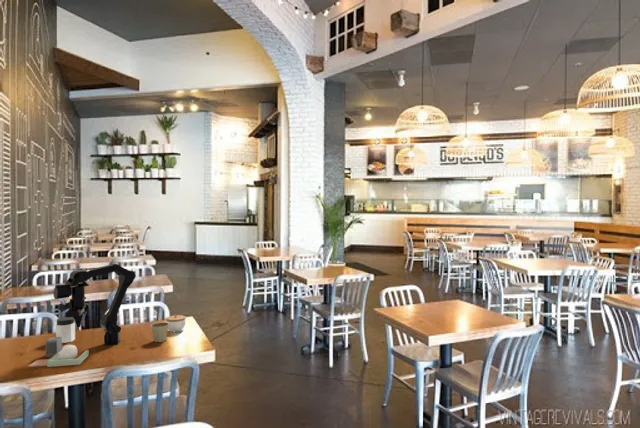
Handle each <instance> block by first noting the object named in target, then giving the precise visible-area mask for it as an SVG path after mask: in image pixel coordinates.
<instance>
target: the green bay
mask: <svg viewBox="0 0 640 428" xmlns="http://www.w3.org/2000/svg"><path fill="white" fill-rule="evenodd" d="M89 353H90V352H89V349H86V350H84V352H83V353H82V354H80V355H79V356H78V357H75V358H74V359H61V360H60V359H59V357H58V354H59V352H58V353H57V354H55V355H54V356H53V357H50V358H48V359H49V360H48V361H47V367H49V368H50V367H52V368H53V367H62V366H76V365H77V366H78V365H81V364H82V363H83V362H84V361H85V359H86V358H87V357H88V356H89V355H90V354H89Z"/></svg>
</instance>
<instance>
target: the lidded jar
mask: <svg viewBox="0 0 640 428" xmlns="http://www.w3.org/2000/svg"><path fill="white" fill-rule="evenodd" d="M165 320H166V321H165V323H169V325H168V329H167V330H168V331H170V332H171V331H173V332H172V333H175V332H174V331H180V330H183V329H184V328H185V326H186V315H181V314H180V315H179V314H178V315H177V314H174V315H170V316H167V317H166V318H165ZM180 332H181V331H180Z"/></svg>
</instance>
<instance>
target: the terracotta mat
mask: <svg viewBox="0 0 640 428" xmlns="http://www.w3.org/2000/svg"><path fill="white" fill-rule="evenodd" d="M49 359H50V358H48V359H47V358H45V359H36V360H34V362H32V363H30V364H29V365H28V368H31V367H43V366H44V367H46V366H47V361H48V360H49Z"/></svg>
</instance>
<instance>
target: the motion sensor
mask: <svg viewBox="0 0 640 428" xmlns="http://www.w3.org/2000/svg"><path fill="white" fill-rule="evenodd" d="M77 356H78V348H77V346H76V345H74V344H66V345H64V346H63V345H62V350H61V351H60V352H59V354H58V357H59V359H58V360H61V359H76V358H77Z"/></svg>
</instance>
